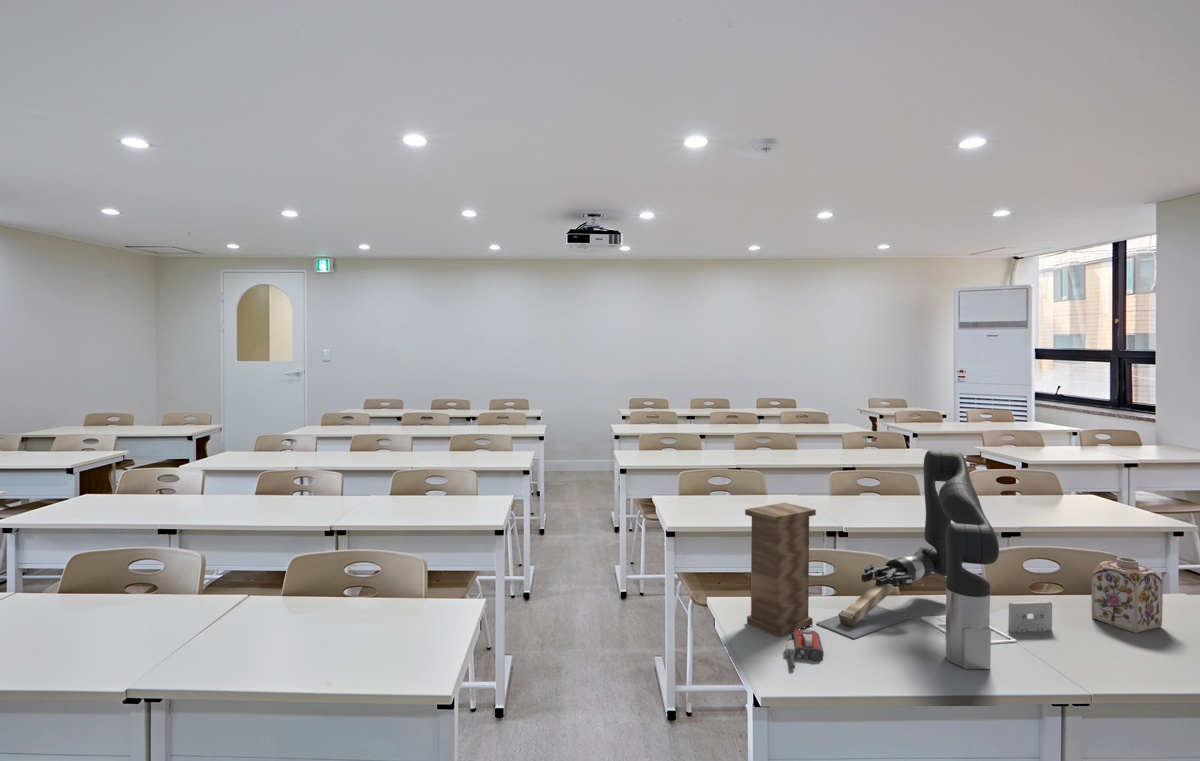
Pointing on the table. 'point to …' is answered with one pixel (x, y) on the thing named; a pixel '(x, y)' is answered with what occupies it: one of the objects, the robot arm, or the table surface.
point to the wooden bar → (864, 605)
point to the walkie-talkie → (804, 646)
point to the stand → (780, 568)
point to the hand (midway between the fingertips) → (870, 580)
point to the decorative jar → (1127, 595)
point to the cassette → (1035, 623)
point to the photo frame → (941, 621)
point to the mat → (865, 622)
